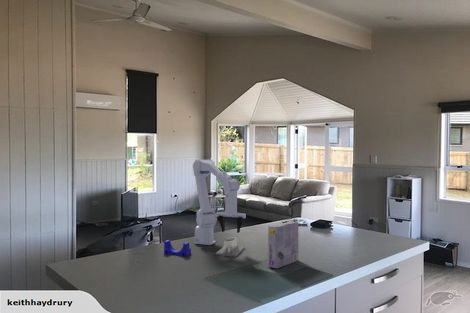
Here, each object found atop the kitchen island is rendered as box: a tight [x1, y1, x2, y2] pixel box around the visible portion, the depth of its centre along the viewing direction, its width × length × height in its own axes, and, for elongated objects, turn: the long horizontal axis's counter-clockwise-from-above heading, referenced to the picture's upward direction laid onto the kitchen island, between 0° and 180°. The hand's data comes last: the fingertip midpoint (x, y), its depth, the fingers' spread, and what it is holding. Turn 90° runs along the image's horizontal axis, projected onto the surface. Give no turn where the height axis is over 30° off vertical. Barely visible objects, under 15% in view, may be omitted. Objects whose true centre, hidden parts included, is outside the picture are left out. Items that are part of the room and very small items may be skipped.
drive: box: [223, 236, 238, 252], centre depth 199 cm, size 4×9×5 cm, turn 164°
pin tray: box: [215, 241, 246, 258], centre depth 199 cm, size 10×16×4 cm, turn 164°
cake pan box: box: [267, 221, 299, 270], centre depth 180 cm, size 19×5×18 cm, turn 141°
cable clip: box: [163, 239, 192, 257], centre depth 195 cm, size 12×4×6 cm, turn 66°
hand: (230, 231), depth 200 cm, fingers open, 7 cm apart
